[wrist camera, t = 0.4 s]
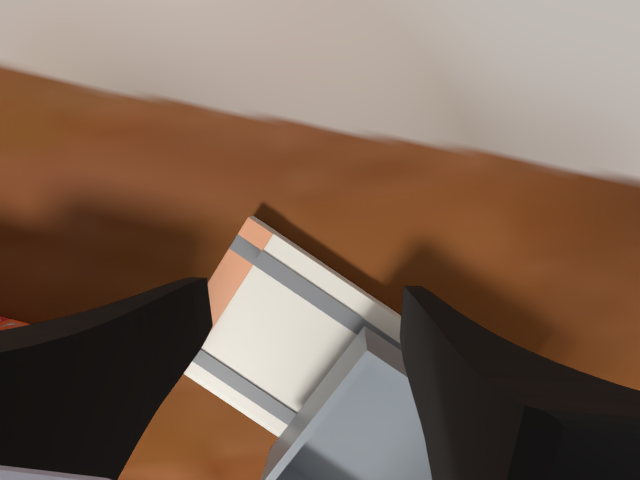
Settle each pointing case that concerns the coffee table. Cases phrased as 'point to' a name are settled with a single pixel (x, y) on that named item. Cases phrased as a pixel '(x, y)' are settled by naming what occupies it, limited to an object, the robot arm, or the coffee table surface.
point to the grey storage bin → (355, 422)
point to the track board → (279, 326)
